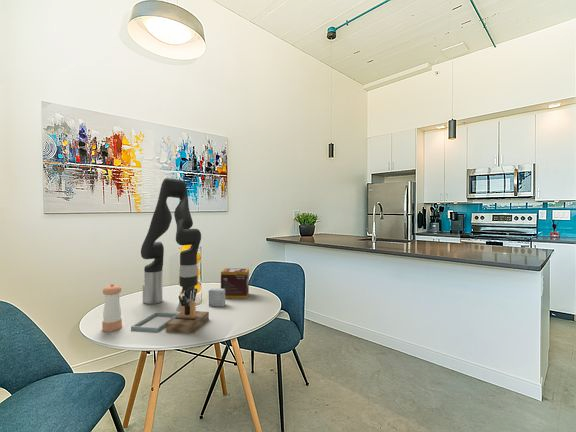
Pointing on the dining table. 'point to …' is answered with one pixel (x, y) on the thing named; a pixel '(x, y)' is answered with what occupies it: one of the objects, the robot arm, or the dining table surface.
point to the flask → (179, 305)
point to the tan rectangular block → (192, 311)
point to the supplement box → (235, 283)
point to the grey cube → (217, 297)
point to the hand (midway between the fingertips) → (188, 313)
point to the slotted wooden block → (187, 323)
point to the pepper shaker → (112, 309)
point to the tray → (150, 329)
